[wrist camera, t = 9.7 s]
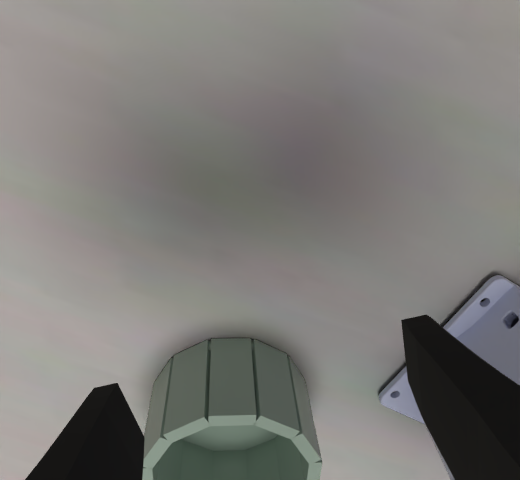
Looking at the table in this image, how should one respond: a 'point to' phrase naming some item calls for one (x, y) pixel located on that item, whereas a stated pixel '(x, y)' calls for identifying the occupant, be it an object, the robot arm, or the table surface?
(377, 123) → the table surface
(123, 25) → the table surface
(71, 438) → the robot arm
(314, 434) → the green faceted bowl
